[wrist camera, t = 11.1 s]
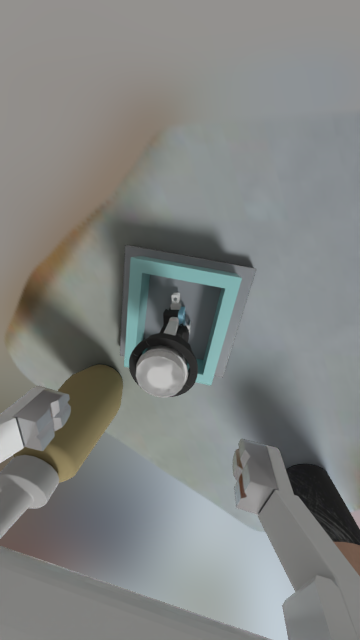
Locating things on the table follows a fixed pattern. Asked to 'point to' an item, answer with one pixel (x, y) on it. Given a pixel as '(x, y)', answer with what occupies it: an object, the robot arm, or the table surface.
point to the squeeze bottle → (61, 444)
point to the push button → (166, 356)
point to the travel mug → (327, 509)
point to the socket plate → (184, 303)
